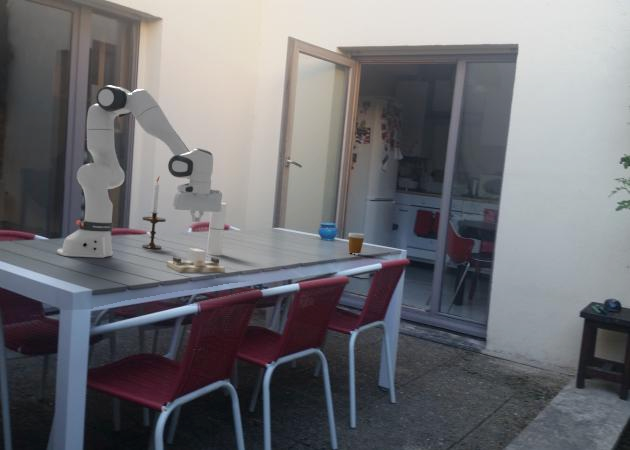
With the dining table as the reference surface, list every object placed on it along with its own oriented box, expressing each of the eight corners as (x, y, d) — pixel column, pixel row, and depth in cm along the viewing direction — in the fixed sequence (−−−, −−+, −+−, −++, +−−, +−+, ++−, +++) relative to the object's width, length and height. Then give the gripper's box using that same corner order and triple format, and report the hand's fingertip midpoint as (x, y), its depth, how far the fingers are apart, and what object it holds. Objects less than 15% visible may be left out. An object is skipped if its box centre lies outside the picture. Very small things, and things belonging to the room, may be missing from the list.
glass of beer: (361, 256, 368) (364, 235, 366) (344, 254, 369) (347, 233, 368) (363, 254, 377) (366, 233, 376) (347, 252, 379) (349, 231, 378)
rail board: (179, 272, 261) (180, 260, 260) (166, 265, 272) (167, 254, 272) (224, 272, 272) (225, 261, 272) (210, 265, 283) (211, 255, 283)
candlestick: (166, 247, 321) (172, 176, 317) (158, 250, 310) (165, 176, 307) (144, 245, 322) (150, 174, 318) (136, 247, 311) (142, 174, 308)
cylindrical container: (210, 255, 313) (215, 203, 311) (204, 252, 319) (209, 201, 316) (224, 255, 317) (229, 204, 315) (217, 252, 323) (222, 202, 321)
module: (194, 265, 267) (196, 251, 267) (187, 262, 274) (188, 248, 273) (204, 265, 270) (206, 251, 269) (197, 262, 276) (198, 248, 276)
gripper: (219, 189, 279) (215, 221, 280) (173, 185, 268) (170, 219, 269) (225, 191, 274) (222, 224, 275) (179, 187, 263) (175, 221, 264)
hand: (196, 221), depth 272 cm, fingers closed
